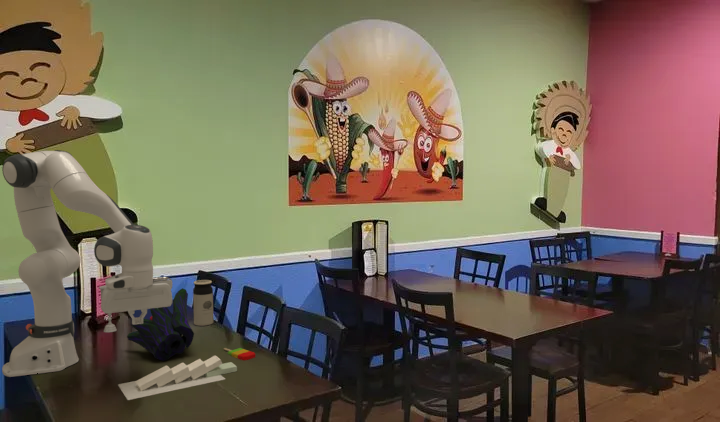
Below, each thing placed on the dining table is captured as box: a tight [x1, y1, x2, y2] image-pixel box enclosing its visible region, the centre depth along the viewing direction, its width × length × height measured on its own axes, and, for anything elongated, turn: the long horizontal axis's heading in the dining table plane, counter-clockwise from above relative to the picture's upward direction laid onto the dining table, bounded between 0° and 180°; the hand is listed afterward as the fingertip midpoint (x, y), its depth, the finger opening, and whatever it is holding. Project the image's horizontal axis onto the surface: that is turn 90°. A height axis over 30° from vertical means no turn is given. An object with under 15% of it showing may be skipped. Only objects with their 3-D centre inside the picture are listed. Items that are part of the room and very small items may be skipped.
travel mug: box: [192, 279, 214, 327], centre depth 245 cm, size 8×8×18 cm
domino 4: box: [190, 355, 223, 380], centre depth 184 cm, size 2×5×10 cm
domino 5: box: [203, 361, 238, 377], centre depth 187 cm, size 2×5×10 cm
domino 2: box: [156, 362, 189, 388], centre depth 179 cm, size 2×5×10 cm
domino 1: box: [134, 365, 173, 391], centre depth 176 cm, size 2×5×10 cm
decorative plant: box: [126, 288, 195, 362], centre depth 210 cm, size 21×26×30 cm
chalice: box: [99, 284, 117, 333], centre depth 234 cm, size 7×7×18 cm
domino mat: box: [117, 375, 226, 401], centre depth 179 cm, size 29×14×1 cm, turn 124°
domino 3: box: [173, 358, 206, 384], centre depth 181 cm, size 2×5×10 cm
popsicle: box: [223, 347, 256, 361], centre depth 206 cm, size 6×15×2 cm, turn 50°
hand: (137, 323), depth 176 cm, fingers closed
